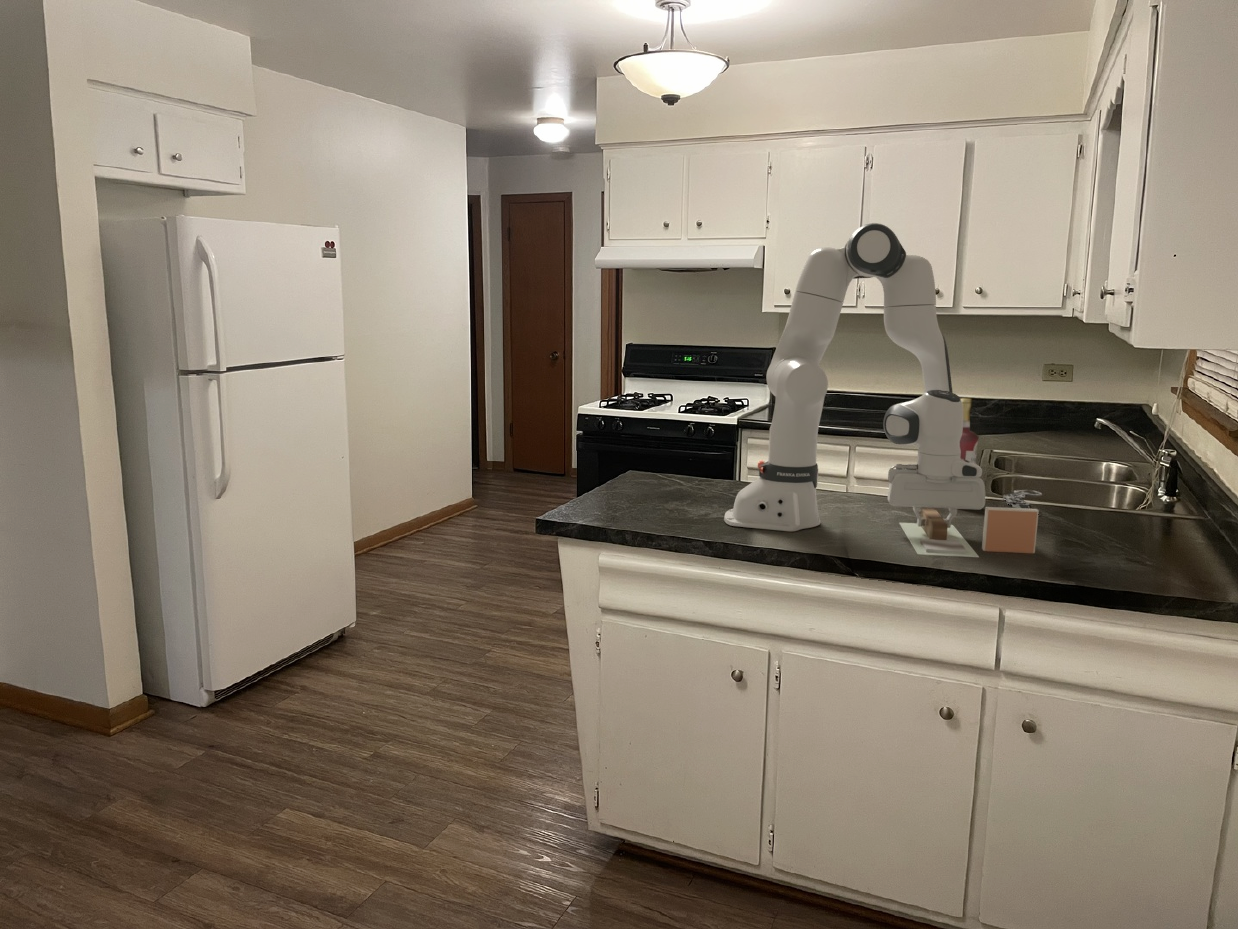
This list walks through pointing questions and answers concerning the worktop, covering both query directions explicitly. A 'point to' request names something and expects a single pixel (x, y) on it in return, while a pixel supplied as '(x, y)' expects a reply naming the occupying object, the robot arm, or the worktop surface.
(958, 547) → the turner
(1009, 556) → the worktop surface
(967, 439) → the liquor
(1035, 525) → the tile
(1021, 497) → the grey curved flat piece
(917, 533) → the plate
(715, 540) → the worktop surface
